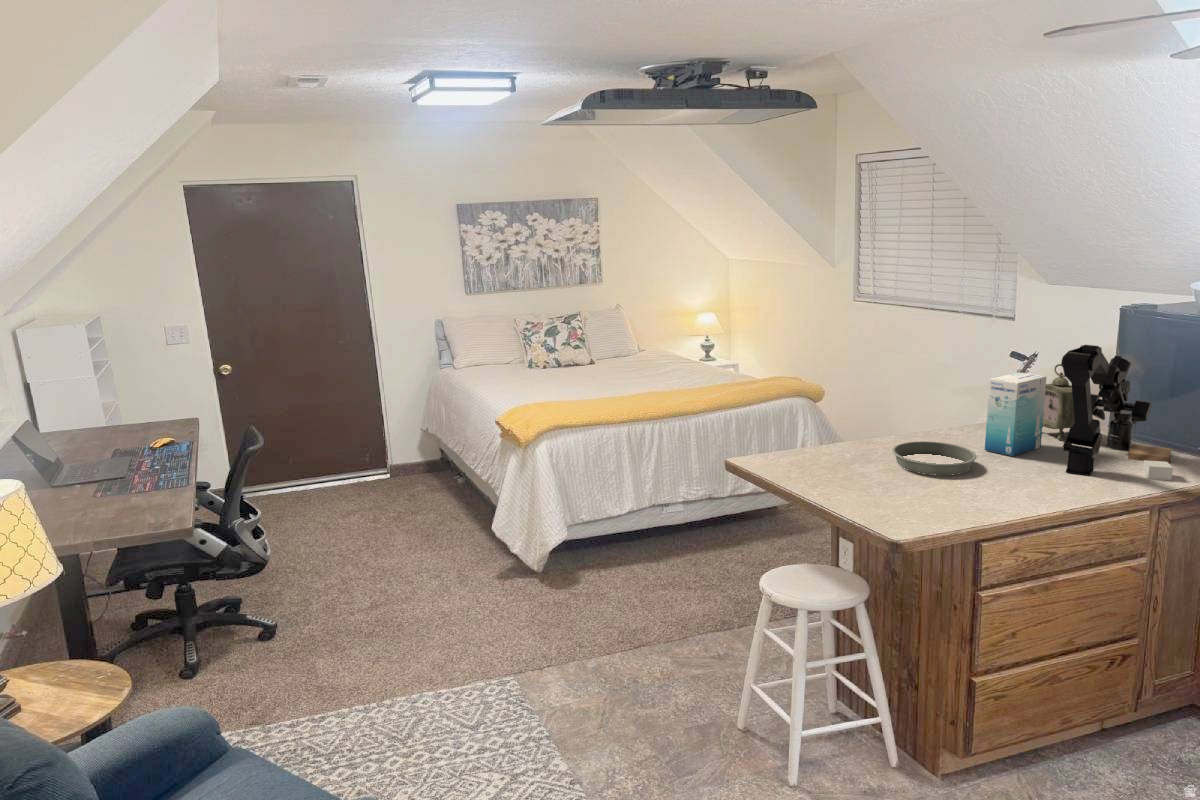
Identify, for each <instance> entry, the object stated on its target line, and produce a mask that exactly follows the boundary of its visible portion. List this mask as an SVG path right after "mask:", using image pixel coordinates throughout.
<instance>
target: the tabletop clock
mask: <svg viewBox="0 0 1200 800" xmlns="http://www.w3.org/2000/svg"><path fill="white" fill-rule="evenodd" d="M1057 367H1062V365H1061V363H1058V364H1056V365H1055V366H1054V368H1053V371H1054V373H1055V374H1056V376H1057V377H1055V378H1054V379H1053V380H1052V382H1051V383H1046V388H1045V400H1044V412H1043V425H1042V429H1043V428H1048V429H1050V430H1051V429H1052V430H1059V432H1058V436H1057V437H1056V439H1057V440H1058V441H1062V440H1063V436H1064V435H1065V432H1064V429H1070V428H1071V426H1072V425H1073V423H1074V422H1075V421H1074V409H1073V397H1072V385H1071V384H1070V381H1069V380H1068V378H1067V377H1066V376H1065V375H1064V372H1059V373H1058V372H1057Z"/></svg>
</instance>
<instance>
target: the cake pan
mask: <svg viewBox="0 0 1200 800" xmlns="http://www.w3.org/2000/svg"><path fill="white" fill-rule="evenodd" d="M891 452H892V454H893V455H894V456H895V459H896V464H897V463H898V464H899V465H900V466H901V467H903V468H905V469H908V470H911V471H915V472H920V473H925V474H924V475H927V474H936V475H935V476H939V475H947V476H953V475H952V474H958V473H962V474H964V473H963V472H965V473H967V472H969V471H970V468H971V465H972V463H973V462H974V461H975V460H976V459H977V457H978V456H977V454H976V453H975V452H974V451H972V450H971V449H969V448H967V447H964V446H961V445H957V444H953V443H947V442H939V441H921V440H920V441H907V442H903V443H900V444H897V445H895V446H893V448H892V449H891ZM914 454H932V455H941V456H946V457H951V458H955V459H959V460H962V461H964V462H962V463H954V464H936V463H926V462H920V461H915V460H911V459H907V458H904V457H903V456H907V455H914ZM898 464H897V465H898ZM899 465H898V466H899ZM900 466H899V467H900ZM901 467H900V468H901ZM903 468H902V469H903ZM905 469H904V470H905ZM908 470H907V471H908ZM911 471H910V472H911ZM966 471H967V472H966ZM915 472H914V473H915ZM920 473H919V474H920ZM958 475H959V474H958Z"/></svg>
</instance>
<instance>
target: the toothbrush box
mask: <svg viewBox="0 0 1200 800" xmlns="http://www.w3.org/2000/svg"><path fill="white" fill-rule="evenodd" d="M1046 384H1047V376H1044V375H1039V374H1033V373H1026V372H1014V373H1011V374H1005V375H1000V376H998V377H992V378H989V383H988V396H987V397H988V399H987V412H986V413H987V414H986V423H985V424H986V427H985V440H984V451H987V452H992V453H997V454H1000V455H1001V454H1002V455H1004V456H1005V455H1007V456H1011V457H1013V456H1018V455H1019V454H1024V453H1027V452H1030V451H1034V450H1037V449H1040V448H1041V447H1042V436H1043V435H1042V433H1043V428H1042V425H1043V412H1044V400H1045V388H1046Z"/></svg>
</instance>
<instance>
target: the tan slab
mask: <svg viewBox="0 0 1200 800" xmlns="http://www.w3.org/2000/svg"><path fill="white" fill-rule="evenodd" d="M1171 454H1172V448H1169V447H1168V448H1166V447H1159V446H1158V447H1157V446H1150V445H1141V444H1134V443H1131V446H1130V449H1128V457H1127V459H1129V460H1136V461H1142V460H1145V461H1162V462H1168V463H1169V464H1170V462H1171V456H1172V455H1171ZM1170 465H1171V464H1170Z"/></svg>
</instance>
